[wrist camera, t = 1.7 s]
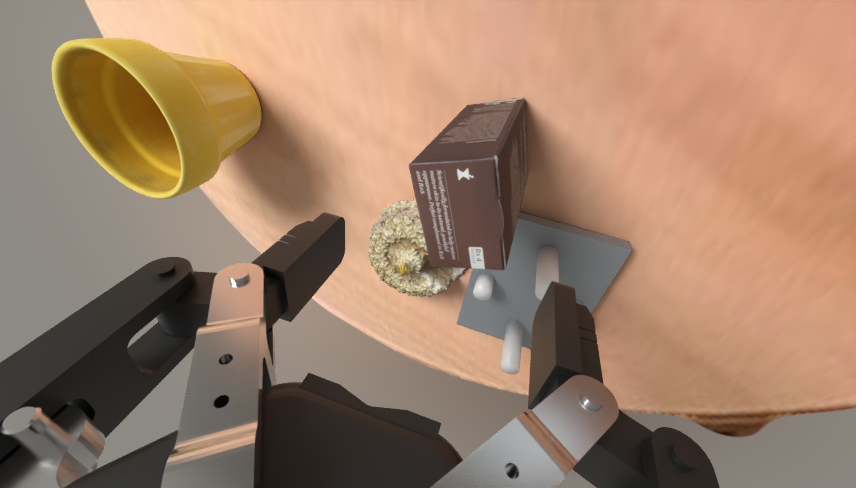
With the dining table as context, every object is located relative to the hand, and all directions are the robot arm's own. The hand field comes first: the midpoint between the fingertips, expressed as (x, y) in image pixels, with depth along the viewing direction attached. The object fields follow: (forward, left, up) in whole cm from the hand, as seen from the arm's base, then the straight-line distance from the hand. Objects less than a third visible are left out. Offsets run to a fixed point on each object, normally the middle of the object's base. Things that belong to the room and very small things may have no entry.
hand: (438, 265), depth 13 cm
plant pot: (+24, +2, -16) cm, 29 cm away
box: (0, 0, -16) cm, 16 cm away
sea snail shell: (+4, +11, -16) cm, 20 cm away
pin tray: (-7, +12, -16) cm, 21 cm away
